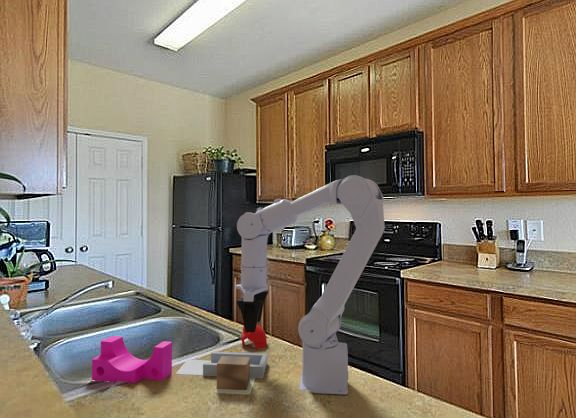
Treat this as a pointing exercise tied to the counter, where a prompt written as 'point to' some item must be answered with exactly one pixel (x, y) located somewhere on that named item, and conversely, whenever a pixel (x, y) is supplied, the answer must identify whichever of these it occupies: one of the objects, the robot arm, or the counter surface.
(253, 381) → the sage coaster
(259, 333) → the red rounded piece
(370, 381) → the counter surface
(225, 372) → the walnut block
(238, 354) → the trough deck
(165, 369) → the magenta cradle bracket
